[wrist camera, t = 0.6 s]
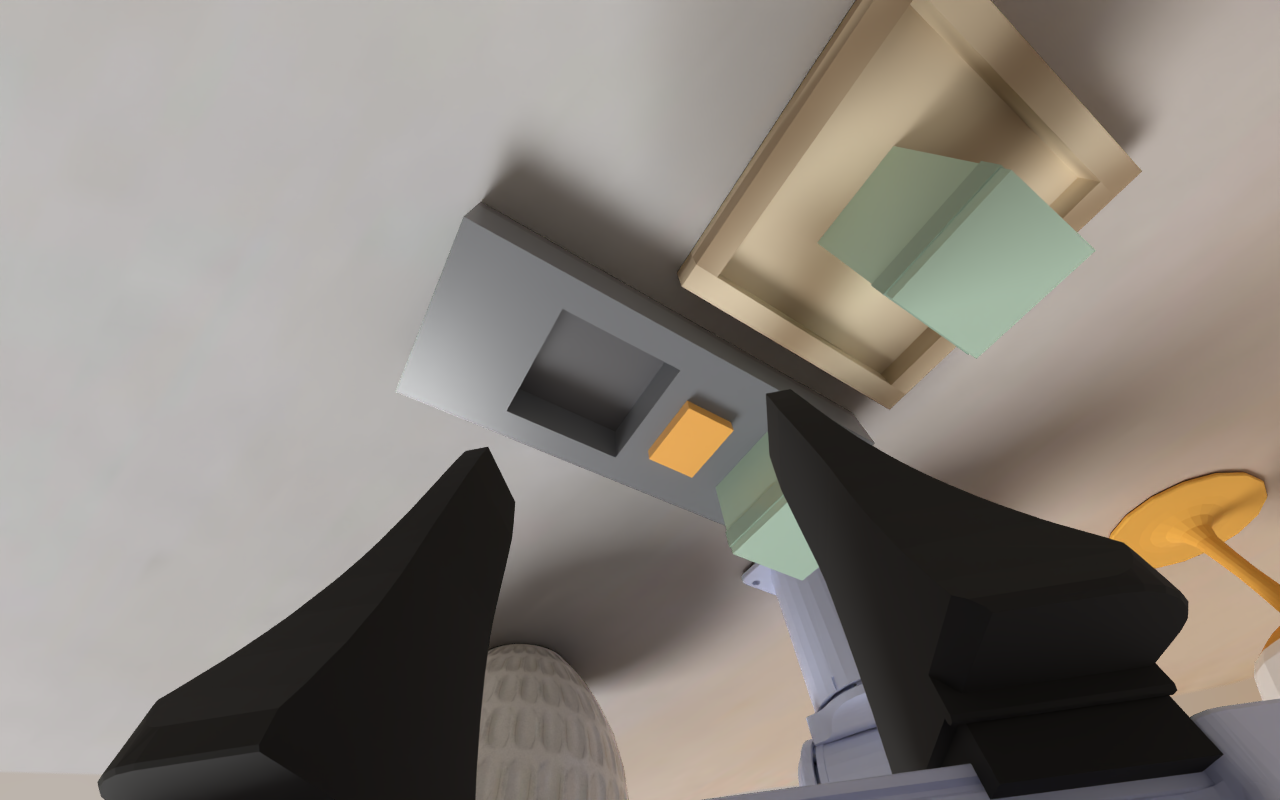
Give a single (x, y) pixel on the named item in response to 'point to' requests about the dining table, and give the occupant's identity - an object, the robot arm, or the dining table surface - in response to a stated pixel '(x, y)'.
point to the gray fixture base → (608, 383)
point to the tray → (853, 148)
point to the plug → (955, 244)
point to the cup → (1207, 542)
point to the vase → (543, 732)
